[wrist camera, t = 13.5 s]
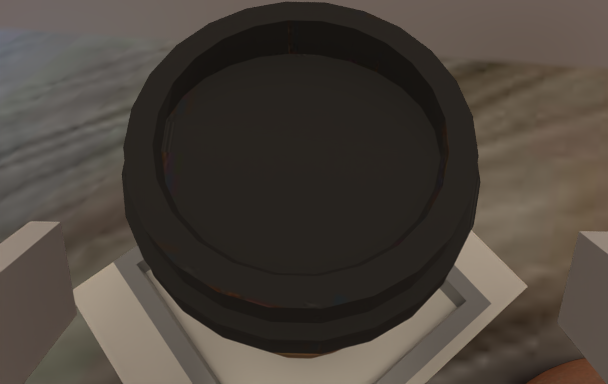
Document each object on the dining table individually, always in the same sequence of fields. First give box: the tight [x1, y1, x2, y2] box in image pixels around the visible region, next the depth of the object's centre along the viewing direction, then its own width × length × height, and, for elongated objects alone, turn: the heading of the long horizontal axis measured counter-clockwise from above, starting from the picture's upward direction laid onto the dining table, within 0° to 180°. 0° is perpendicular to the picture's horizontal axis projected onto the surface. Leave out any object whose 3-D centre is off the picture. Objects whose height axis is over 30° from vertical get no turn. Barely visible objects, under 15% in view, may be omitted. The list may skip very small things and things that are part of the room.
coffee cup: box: [122, 2, 480, 359], centre depth 17 cm, size 8×8×15 cm
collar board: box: [73, 230, 528, 384], centre depth 23 cm, size 14×18×2 cm
